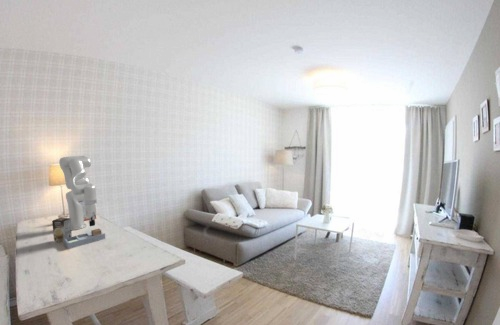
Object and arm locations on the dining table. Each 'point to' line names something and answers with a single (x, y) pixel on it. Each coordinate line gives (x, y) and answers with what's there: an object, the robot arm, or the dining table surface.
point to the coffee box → (61, 229)
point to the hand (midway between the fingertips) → (92, 225)
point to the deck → (82, 240)
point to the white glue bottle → (84, 210)
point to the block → (95, 232)
